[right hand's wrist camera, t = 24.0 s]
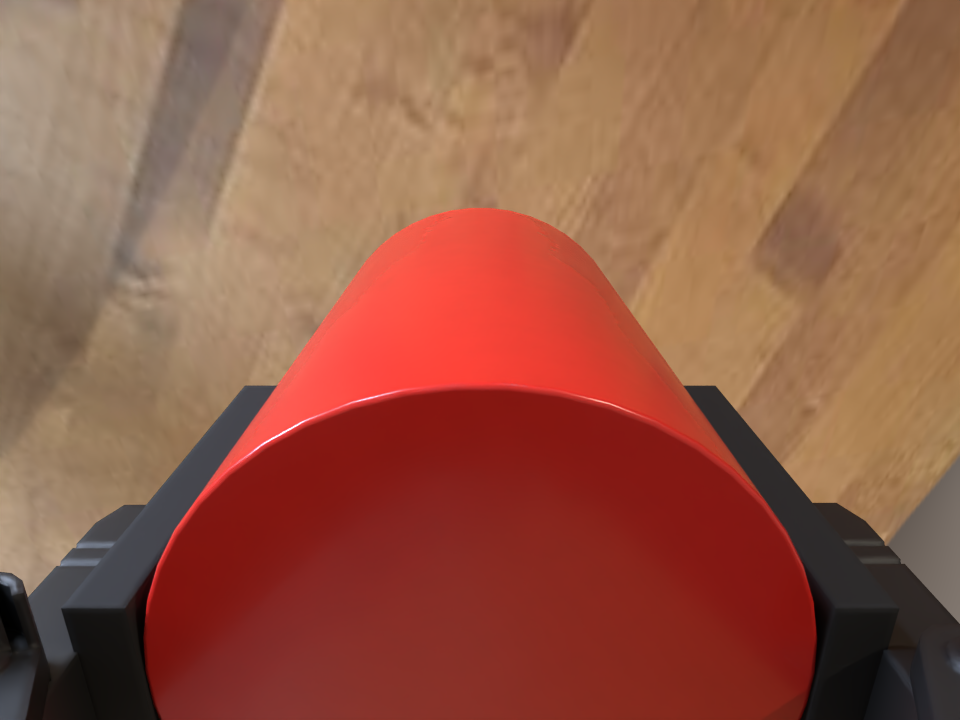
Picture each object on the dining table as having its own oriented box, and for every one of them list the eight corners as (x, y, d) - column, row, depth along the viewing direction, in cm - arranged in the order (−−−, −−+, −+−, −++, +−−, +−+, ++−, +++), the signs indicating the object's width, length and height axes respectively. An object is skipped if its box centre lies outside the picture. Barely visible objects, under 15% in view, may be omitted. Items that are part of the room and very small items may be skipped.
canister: (421, 512, 21) (358, 957, 10) (282, 288, 19) (-8, 564, 8) (663, 410, 20) (892, 794, 9) (552, 152, 17) (683, 244, 6)
